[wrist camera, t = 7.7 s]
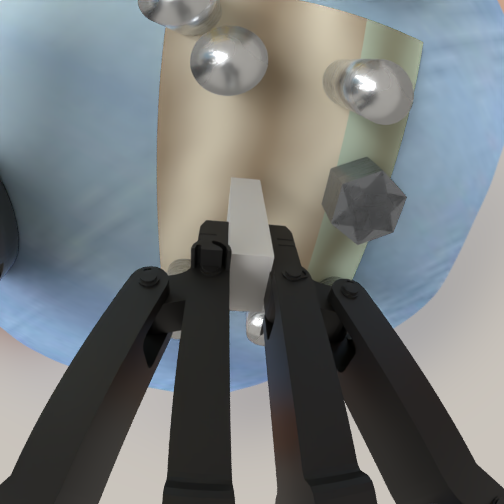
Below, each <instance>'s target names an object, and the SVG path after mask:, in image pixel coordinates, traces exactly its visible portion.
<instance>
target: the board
mask: <svg viewBox="0 0 504 504" xmlns="http://www.w3.org/2000/svg"><path fill="white" fill-rule="evenodd" d="M220 3H221V6H222V15H221V18H220V20H219V22H218V23H217V25H216V26H215V27H214V28H212V29H215V28H217V27H221V26H239V27H243V28H246V29H248V30H250V31H252V32H253V33H255V34H256V35H257V36H258V37H259V38H260V39H261V40H262V42H263V43H264V45H265V47H266V50H267V53H268V66H267V70H266V73H265V75H264V77H263V78H262V80H261V81H260V82H259V83H258V84H257V85H256V86H255V87H254V88H252V89H251V90H249V91H247V92H245V93H242V94H239V95H234V96H223V95H217V94H214V93H211V92H209V91H207V90H206V89H204V88H203V87H202V86H201V85H200V84H198V82H197V81H196V80H195V78H194V76H193V74H192V72H191V68H190V56H191V52H192V49H193V47H194V45H195V44H196V42H197V41H198V40H199V39H200V37H202V36H203V35H204V34H205V33H204V34H201V35H197V36H186V35H182V34H180V33H177V32H175V31H173V30H171V29H169V28H167V27H166V28H165V36H164V44H163V54H162V64H161V75H160V88H159V105H158V127H157V210H158V233H159V250H160V265H161V269H163V270H164V271H165V272H166V273H167V270H168V267H169V265H170V264H171V263H172V262H173V261H175V260H178V259H191V247H192V245H193V244H194V243H195V242H197V241H198V236H199V230H200V226H201V225H202V224H203V223H204V222H205V221H206V220H212V221H225V222H227V214H228V204H229V194H230V185H231V177H235V178H246V179H256V180H260V182H261V187H262V193H263V198H264V203H265V209H266V214H267V219H268V224H270V225H281V226H286V227H287V228H288V229H289V230H290V231H291V232H292V235H293V238H294V242H295V245H296V249H297V252H298V256H299V259H300V263H301V266H302V267H304V268H305V269H306V270H307V271H308V272H309V274H310V275H311V278H312V280H314V281H316V282H320V281H321V280H323V279H325V278H328V277H341V278H343V279H350V280H352V279H353V277H354V275H355V272H356V270H357V267H358V265H359V263H360V260H361V258H362V255H363V253H364V250H365V248H366V245H367V243H368V242H365V243H362V244H360V245H357V244H356V243H354V242H353V241H352V240H351V239H349V238H348V237H347V236H346V235H345V234H343V233H342V232H341V231H340V230H338V229H337V228H336V227H335V226H333V225H332V224H331V223H330V221H329V219H328V216H327V214H326V212H325V210H324V208H323V206H322V200H323V197H324V193H325V189H326V185H327V181H328V177H329V173H330V169H331V168H333V167H336V166H339V165H342V164H345V163H348V162H351V161H354V160H357V159H360V158H364V157H368V158H369V159H371V160H372V161H373V162H374V163H375V164H376V165H377V166H379V167H380V168H381V169H382V170H383V171H384V172H385V173H386V174H387V175H388V176H389V177H390V178H391V175H392V172H393V169H394V165H395V162H396V159H397V155H398V152H399V148H400V145H401V141H402V138H403V134H404V130H405V127H406V123H407V119H408V115H409V113H408V114H407V115H406V116H405V117H404V118H403V119H402V120H400V121H399V122H397V123H394V124H390V125H381V124H377V123H374V122H372V121H370V120H368V119H366V118H364V117H362V116H360V115H358V114H356V113H354V112H352V111H350V110H348V109H346V108H344V107H341V106H339V105H337V104H335V103H334V102H333V101H331V100H330V99H329V98H328V96H327V95H326V93H325V91H324V88H323V82H322V80H323V74H324V72H325V70H326V68H327V67H328V66H329V65H330V64H331V63H333V62H334V61H337V60H340V59H385V60H389V61H392V62H394V63H396V64H398V65H399V66H400V67H402V68H403V69H404V70H405V72H406V73H407V74H408V76H409V78H410V80H411V82H412V85H413V90H414V89H415V84H416V80H417V75H418V70H419V64H420V59H421V53H422V47H423V42H422V41H420V40H418V39H416V38H413V37H411V36H409V35H407V34H405V33H402V32H400V31H398V30H395V29H393V28H390V27H388V26H385V25H383V24H380V23H377V22H375V21H372V20H369V19H366V18H363V17H360V16H357V15H354V14H351V13H347V12H344V11H341V10H337V9H334V8H330V7H326V6H322V5H318V4H314V3H309V2H305V1H300V0H220ZM212 29H211V30H212ZM206 33H207V32H206Z"/></svg>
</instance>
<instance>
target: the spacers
mask: <svg viewBox="0 0 504 504" xmlns="http://www.w3.org/2000/svg"><path fill="white" fill-rule="evenodd" d="M138 5H139V8H140V10H141V12H142V13H143V14H144V16H145V17H147V18H148V19H150V20H151V21H154V22H156V23H158V24H160V25H163V26H165V27H167V28H169V29H171V30H173V31H175V32H177V33H180V34H182V35H186V36H197V35H201V34H204V33H205V34H204V35H203V36H202V37H200V39H199V40H198V41H197V42H196V44H195V45H194V47H193V49H192V52H191V56H190V68H191V72H192V74H193V76H194V78H195V80H196V81H197V82H198V84H200V85H201V86H202V87H203V88H204V89H206V90H207V91H209V92H211V93H214V94H217V95H223V96H234V95H239V94H242V93H245V92H247V91H249V90H251V89H252V88H254V87H255V86H256V85H257V84H258V83H259V82H260V81H261V80H262V78H263V77H264V75H265V73H266V70H267V66H268V53H267V50H266V47H265V45H264V43H263V42H262V40H261V39H260V38H259V37H258V36H257V35H256V34H255V33H253V32H252V31H250V30H248V29H246V28H243V27H239V26H221V27H217V28H215V29H212V28H214V27H215V26H216V25H217V23H218V22H219V20H220V18H221V15H222V6H221V3H220V0H138ZM211 29H212V30H211ZM206 32H207V33H206ZM322 82H323V88H324V91H325V93H326V95H327V96H328V98H329V99H330V100H331V101H333V102H334V103H335V104H337V105H339V106H341V107H344V108H346V109H348V110H350V111H352V112H354V113H356V114H358V115H360V116H362V117H364V118H366V119H368V120H370V121H372V122H374V123H377V124H381V125H390V124H394V123H397V122H399V121H400V120H402V119H403V118H404V117H405V116H406V115H407V114H408V113H409V111H410V109H411V107H412V104H413V99H414V90H413V85H412V82H411V80H410V78H409V76H408V74H407V73H406V72H405V70H404V69H403V68H402V67H400V66H399V65H398V64H396V63H394V62H392V61H389V60H385V59H340V60H337V61H334V62H333V63H331V64H330V65H329V66H328V67H327V68H326V70H325V72H324V74H323V80H322ZM190 268H191V259H178V260H175V261H173V262H172V263H171V264H170V265H169V267H168V270H167V274H168V276H169V275H176V274H180V273H183V272H185V271H187V270H188V269H190ZM338 279H343V278H341V277H328V278H325V279H323V280H321V281H320V282H319V283H322V284H326V285H329V286H332V285H333V283H334V282H335V281H336V280H338ZM264 314H265V310H264V305H263V310H262V312H246V334H247V337H248V339H249V340H250V341H251V342H253V343H255V344H257V345H261V346H265V342H264V332H263V335H260V330H261V326H262V322H263V318H264ZM180 336H181V331H175V332H173V334H172V336H171V338H174V339H180Z"/></svg>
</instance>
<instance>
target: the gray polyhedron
mask: <svg viewBox="0 0 504 504" xmlns="http://www.w3.org/2000/svg"><path fill="white" fill-rule="evenodd" d="M406 198H407V197H406V195H405V194H404V193H403V192H402V191H401V190H400V189H399V187H398V186H397V185H396V184H395V183H394V182H393V181H392V180H391V179H390V177H389V176H388V175H387V174H386V173H385V172H384V171H383V170H382V169H381V168H380V167H379V166H377V165H376V164H375V163H374V162H373V161H372V160H371V159H369V158H368V157H364V158H360V159H357V160H354V161H351V162H348V163H345V164H342V165H339V166H336V167H333V168H331V169H330V173H329V177H328V181H327V185H326V189H325V193H324V197H323V200H322V206H323V208H324V210H325V212H326V214H327V216H328V219H329V221H330V223H331V224H332V225H333V226H335V227H336V228H337V229H338V230H340V231H341V232H342V233H343V234H345V235H346V236H347V237H348V238H349V239H351V240H352V241H353V242H354V243H356V244H357V245H360V244H362V243H365V242H368V241H371V240H373V239H376V238H379V237H382V236H384V235H387V234H390V233H392V232H394V229H395V227H396V224H397V222H398V219H399V216H400V214H401V211H402V209H403V206H404V203H405V200H406Z"/></svg>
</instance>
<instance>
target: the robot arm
mask: <svg viewBox="0 0 504 504" xmlns="http://www.w3.org/2000/svg"><path fill="white" fill-rule="evenodd" d="M17 253H18V230H17V224H16V219H15V215H14V212H13V208H12V205H11V202H10V200H9V197H8V195H7V192H6V190H5V188H4V186H3V184H2V182H1V180H0V280H1V279H2V278H3V277H4V276H5V274H6V273H7V272H8V270H9V269H10V268H11V266H12V265H13V263H14V262H15V260H16V257H17ZM263 305H264V310H265V314H264V318H263V322H262V326H261V330H260V335H263V332H264V342H265V353H266V364H267V375H268V386H269V397H270V408H271V420H272V431H273V442H274V453H275V465H276V477H277V496H276V503H275V504H377V500H376V494H375V489H374V486H373V482H372V480H371V479H370V477H369V476H368V475H367V474H365V473H364V472H362V471H361V470H360V468H359V466H358V463H357V459H356V454H355V449H354V444H353V439H352V434H351V430H350V425H349V421H348V416H347V412H346V407H345V403H346V405H347V407H348V409H349V411H350V412H351V415H352V417H353V419H354V421H355V423H356V425H357V426H358V429H359V430H360V433H361V435H362V436H363V439H364V440H365V443H366V445H367V447H368V449H369V451H370V453H371V455H372V457H373V459H374V461H375V463H376V465H377V467H378V469H379V471H380V473H381V475H382V477H383V479H384V481H385V483H386V485H387V487H388V489H389V491H390V494H391V495H392V497H393V499H394V500H395V502H396V504H504V488H503V487H502V486H500V485H499V484H498V483H497V482H496V481H495V480H494V479H493V478H492V477H490V476H489V475H488V474H487V473H486V472H485V471H484V470H483V469H482V468H481V467H479V466H478V465H477V464H476V462H475V460H474V458H473V456H472V455H471V453H470V451H469V449H468V448H467V445H466V444H465V442H464V440H463V438H462V436H461V435H460V433H459V431H458V429H457V428H456V426H455V424H454V422H453V421H452V419H451V417H450V416H449V414H448V413H447V411H446V409H445V407H444V406H443V404H442V402H441V401H440V399H439V397H438V396H437V394H436V393H435V391H434V389H433V388H432V386H431V385H430V383H429V382H428V380H427V378H426V377H425V375H424V374H423V372H422V371H421V369H420V368H419V366H418V365H417V363H416V361H415V360H414V359H413V357H412V355H411V354H410V352H409V351H408V349H407V348H406V346H405V345H404V344H403V342H402V341H401V339H400V338H399V336H398V335H397V333H396V332H395V331H394V329H393V328H392V326H391V325H390V323H389V322H388V321H387V319H386V318H385V316H384V315H383V314H382V312H381V311H380V309H379V308H378V307H377V305H376V304H375V303H374V301H373V300H372V298H371V297H370V296H369V294H368V293H367V292H366V290H365V289H364V288H363V287H362V286H361V285H360V284H359V283H357V282H355V281H353V280H350V279H338V280H336V281H335V282H334V283H333V285H332V286H329V285H326V284H322V283H319V282H316V281H314V280H312V278H311V275H310V274H309V272H308V271H307V270H306V269H305V268H304V267H302V266H301V263H300V259H299V256H298V252H297V249H296V245H295V242H294V238H293V235H292V232H291V231H290V230H289V229H288V228H287V227H286V226H281V225H270V224H268V219H267V214H266V209H265V203H264V198H263V193H262V187H261V182H260V180H256V179H246V178H235V177H231V185H230V194H229V204H228V214H227V222H225V221H212V220H206V221H205V222H204V223H203V224H202V225H201V226H200V230H199V236H198V241H197V242H195V243H194V244H193V245H192V247H191V268H190V269H188V270H187V271H185V272H183V273H180V274H176V275H169V276H168V274H167V273H166V272H165V271H164V270H163V269H160V268H158V267H152V266H149V267H143V268H140V269H138V270H136V271H135V272H134V273H133V274H132V275H131V276H130V277H129V279H128V280H127V282H126V283H125V284H124V286H123V287H122V288H121V290H120V291H119V292H118V294H117V295H116V297H115V298H114V299H113V301H112V302H111V304H110V305H109V306H108V308H107V309H106V311H105V312H104V314H103V315H102V317H101V318H100V319H99V321H98V322H97V324H96V325H95V327H94V328H93V330H92V331H91V333H90V334H89V336H88V337H87V339H86V340H85V342H84V343H83V345H82V346H81V348H80V350H79V351H78V353H77V354H76V356H75V357H74V359H73V361H72V362H71V364H70V365H69V367H68V369H67V370H66V372H65V374H64V375H63V377H62V378H61V380H60V382H59V384H58V385H57V387H56V389H55V390H54V392H53V394H52V395H51V397H50V399H49V401H48V403H47V404H46V406H45V408H44V410H43V411H42V413H41V415H40V417H39V419H38V421H37V423H36V424H35V426H34V428H33V430H32V432H31V434H30V436H29V438H28V440H27V442H26V444H25V446H24V448H23V450H22V452H21V454H20V456H19V459H18V461H17V463H16V465H15V467H14V469H13V472H12V474H11V476H10V477H8V478H7V479H6V480H5V481H4V482H3V483H2V484H1V485H0V504H98V503H99V501H100V498H101V496H102V493H103V491H104V488H105V486H106V483H107V481H108V478H109V476H110V473H111V471H112V468H113V466H114V464H115V461H116V459H117V456H118V454H119V452H120V449H121V447H122V445H123V442H124V440H125V437H126V435H127V433H128V431H129V428H130V426H131V424H132V421H133V419H134V417H135V415H136V412H137V410H138V408H139V406H140V403H141V401H142V399H143V397H144V394H145V392H146V390H147V388H148V386H149V383H150V381H151V379H152V377H153V375H154V373H155V370H156V368H157V366H158V364H159V362H160V360H161V357H162V355H163V353H164V351H165V349H166V347H167V345H168V343H169V341H170V338H171V336H172V334H173V332H175V331H181V336H180V343H179V351H178V359H177V368H176V376H175V385H174V395H173V405H172V416H171V428H170V441H169V455H168V472H167V480H166V483H165V486H164V491H163V502H162V504H235V497H234V490H233V485H232V469H231V432H230V358H229V311H246V312H262V310H263ZM344 401H345V403H344Z"/></svg>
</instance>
